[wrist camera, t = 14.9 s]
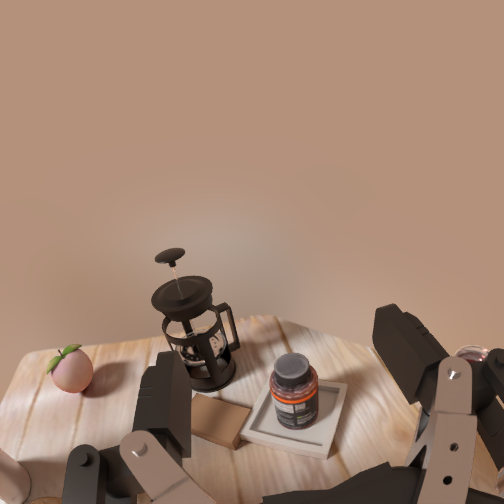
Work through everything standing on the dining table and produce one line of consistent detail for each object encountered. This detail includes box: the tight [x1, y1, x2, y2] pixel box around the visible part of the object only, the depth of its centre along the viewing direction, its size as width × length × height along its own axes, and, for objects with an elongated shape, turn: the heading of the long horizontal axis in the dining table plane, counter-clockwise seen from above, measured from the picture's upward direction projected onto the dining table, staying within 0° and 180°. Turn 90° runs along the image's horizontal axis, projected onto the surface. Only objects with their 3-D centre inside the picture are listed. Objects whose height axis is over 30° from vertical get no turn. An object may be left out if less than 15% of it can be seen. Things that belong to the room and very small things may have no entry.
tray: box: [239, 372, 348, 460], centre depth 36 cm, size 12×12×2 cm
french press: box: [151, 248, 240, 393], centre depth 42 cm, size 12×9×23 cm
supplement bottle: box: [269, 353, 319, 430], centre depth 33 cm, size 6×6×11 cm
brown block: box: [191, 393, 251, 450], centre depth 36 cm, size 9×6×2 cm, turn 66°
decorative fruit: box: [47, 344, 93, 393], centre depth 42 cm, size 9×8×10 cm
